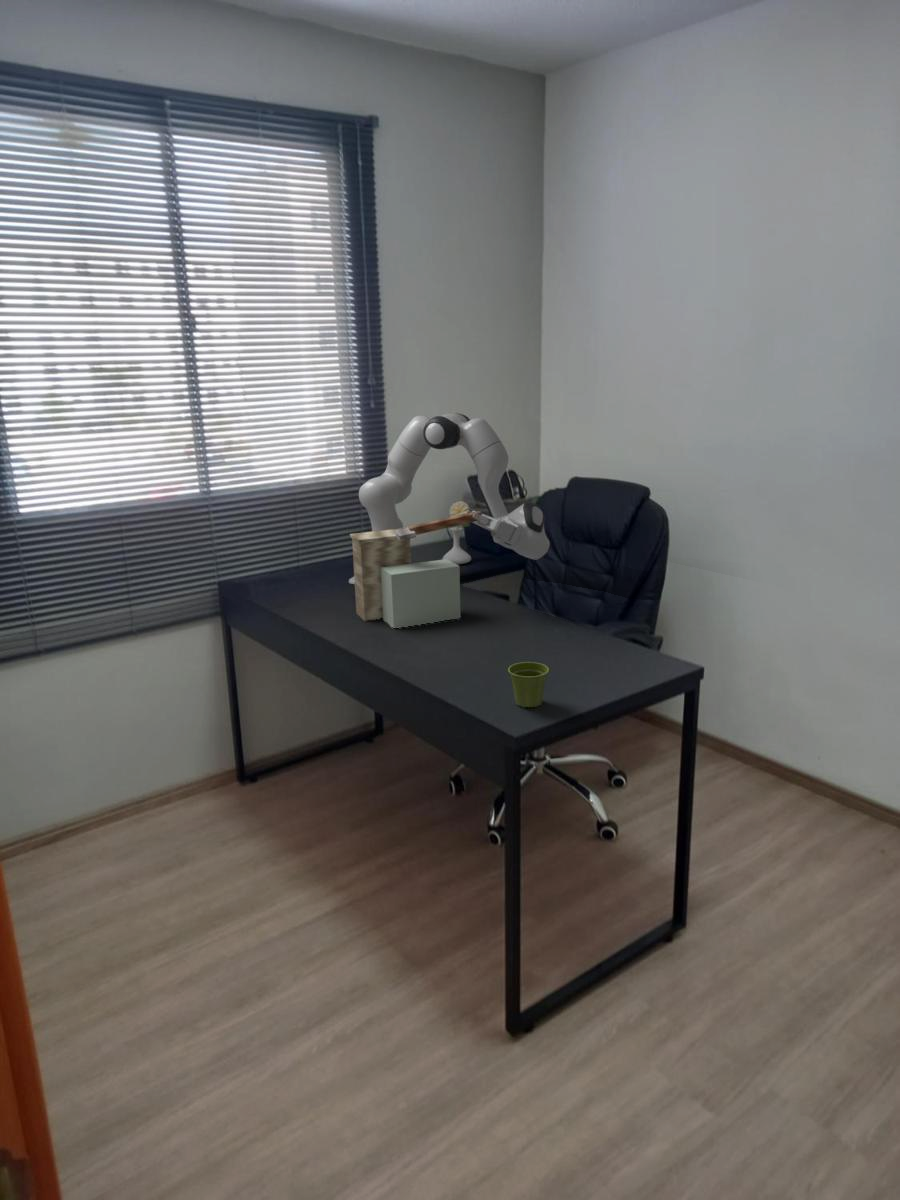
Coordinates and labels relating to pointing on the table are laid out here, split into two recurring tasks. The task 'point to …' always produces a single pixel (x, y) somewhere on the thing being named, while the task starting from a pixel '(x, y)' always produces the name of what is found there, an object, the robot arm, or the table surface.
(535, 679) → the plant pot
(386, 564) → the tall stand
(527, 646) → the table surface
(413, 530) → the scraper
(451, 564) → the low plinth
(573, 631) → the table surface
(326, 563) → the table surface
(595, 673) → the table surface
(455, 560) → the flower in vase
